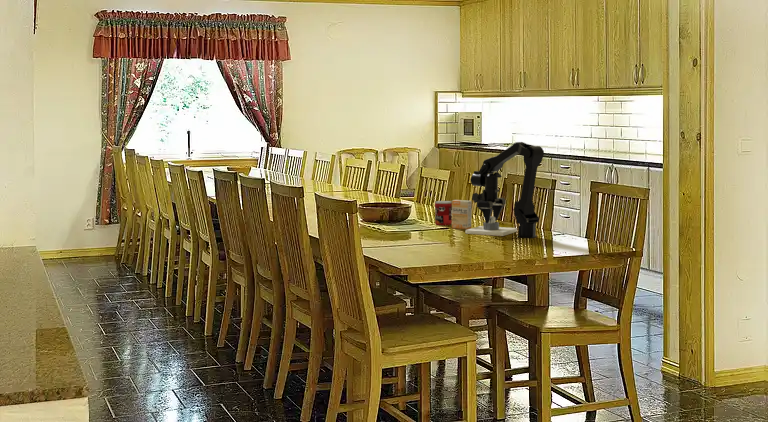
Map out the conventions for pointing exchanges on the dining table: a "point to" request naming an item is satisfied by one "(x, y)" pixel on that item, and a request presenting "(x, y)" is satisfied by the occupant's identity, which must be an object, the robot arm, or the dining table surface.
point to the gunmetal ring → (491, 226)
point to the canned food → (443, 212)
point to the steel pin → (492, 220)
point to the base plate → (491, 231)
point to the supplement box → (461, 214)
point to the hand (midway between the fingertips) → (491, 221)
